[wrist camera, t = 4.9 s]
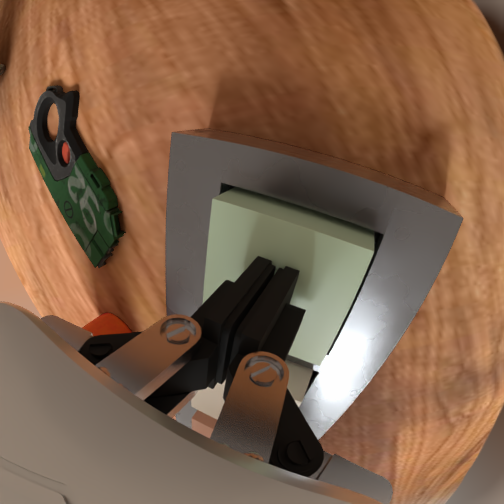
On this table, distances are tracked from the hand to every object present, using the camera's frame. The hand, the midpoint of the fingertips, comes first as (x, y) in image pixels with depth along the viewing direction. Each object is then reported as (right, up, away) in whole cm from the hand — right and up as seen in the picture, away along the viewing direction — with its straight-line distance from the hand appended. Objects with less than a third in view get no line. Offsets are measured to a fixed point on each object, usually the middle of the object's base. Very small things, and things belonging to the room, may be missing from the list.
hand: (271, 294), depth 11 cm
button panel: (0, -5, +7) cm, 9 cm away
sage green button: (+1, +1, +3) cm, 3 cm away
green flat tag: (-15, +9, +9) cm, 20 cm away
